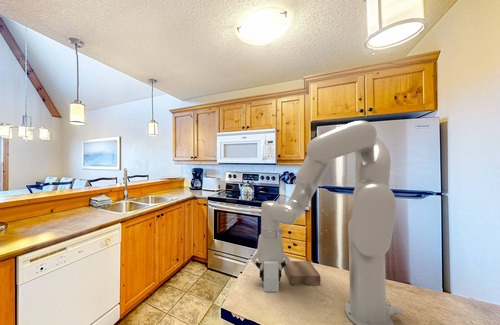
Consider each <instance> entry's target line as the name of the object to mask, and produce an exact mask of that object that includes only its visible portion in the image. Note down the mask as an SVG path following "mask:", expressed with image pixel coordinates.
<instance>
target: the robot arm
mask: <svg viewBox="0 0 500 325" xmlns="http://www.w3.org/2000/svg"><path fill="white" fill-rule="evenodd" d="M351 153H354V154H355V155H356V158H357V164H358V165H357V171H356V172H357V174H356V181H355V186H354V190H353V192H352V195H353V202H352V211H351V216H350V219H349V221H348V224H347V226H348V227H347V228H348V257H349V259H348V262H349V263H348V264H349V266H348V268H349V270H348V271H349V272H348V274H349V278H348V279H349V300H347V301H346V302H345V304H344V312H345V314H346V316H347V318H348V319H349V321H351V323H353V324H354V325H394V322H393V319H392V318H391V317H392V316H393V315H403V310H402V308H401V307H400V306H399V305H398V306H392V304H391V303H390V302H389V301H387V292H386V291H387V288H386V285H387V284H386V255H385V254H386V253H387V252H388V251H389V250H390V246H391V243H392V239H393V231H394V226H395V225H394V224H395V218H396V210H397V208H396V207H397V204H396V203H397V202H396V201H397V200H396V197H395V194H394V192H393V191H392V190H391V188H390V186H389V185H390V177H391V175H390V174H391V173H390V172H391V167H392V166H391V163H392V162H391V155H390V151H389V149H388V147H387V146H386V145H385V143H384V142H383V141H382V140H381V139H380V138H379V137H377V129H376V127H375V126H374V124H372V123H371V122H369V121H367V120H354V121H352V122H348V123H347V124H344V125H342V126H341V125H340V126H339V127H337V128H334V129H332V130H329V131H327V132H325V133H323V134H320V135H317V136H316V137H314V138H312V139H311V140H309V142H308V144H307V146H306V156H305V158H304V161H303V162H302V164H301V166H300V168H299V169H298V172H297V173H296V175H295V186H294V189H293V192H292V193H291V195H290V197H289V199H288V200H287V201H286V202H284V203H280V202H279V201H275V200H265V201H263V202H261V205H260V206H261V208H260V209H261V211H260V212H261V213H260V220H261V222H260V224H261V225H260V234H259V235H258V241H257V251H256V253H255V254H253V256H252V257H251V262H252V264H254V265H255V266H256V268H258V270H259V279H261V282H263V281H264V270H263V267H264V261H278V263H279V282H281V278H282V271H283V269H284V267H285V266H286V264H287V263H288V262H289V261H291V260H290V258H289V257H288V255H287V254H285V252H284V243H283V242H284V241H283V238H282V234H284V233H285V231H284V229H281V224H283V225H285V226H286V225H287V226H288V225H293V224H294V223H295V222H296V221H297V220H299V218H301V217H302V215H303V214H304V212H305V210H306V209H307V207H308V205H309V203H310V202H311V200H312V198H313V196H314V194H315V193H316V192H317V189H318V187H319V185H320V183H321V181H322V179H323V177H324V176H325V174H326V173H327V171H328V169H329V167H330V166H331V164H332V162H333V161H334V159H337V158H341V157H343V156H346V155H349V154H351Z"/></svg>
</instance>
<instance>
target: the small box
mask: <svg viewBox="0 0 500 325" xmlns="http://www.w3.org/2000/svg"><path fill="white" fill-rule="evenodd" d="M263 270H264V281H262V284H263V292H266V293H267V292H270V293H271V292H275V293H276V292H277V293H279V291H280V287H279V286H280V281H279V263H278V261H264V267H263Z"/></svg>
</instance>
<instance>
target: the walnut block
mask: <svg viewBox="0 0 500 325" xmlns="http://www.w3.org/2000/svg"><path fill="white" fill-rule="evenodd" d="M283 269H284V270H283V271H284V273H285V275H286V278H287V280H288V283H289V285H290V286H321V275H320V274H319V272H318V270H317V269H316V268H315V267H314V265H313V263H312V262H311V260H290V261H289V262H288V263H287V264H286V266H285V267H284V268H283Z"/></svg>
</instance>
